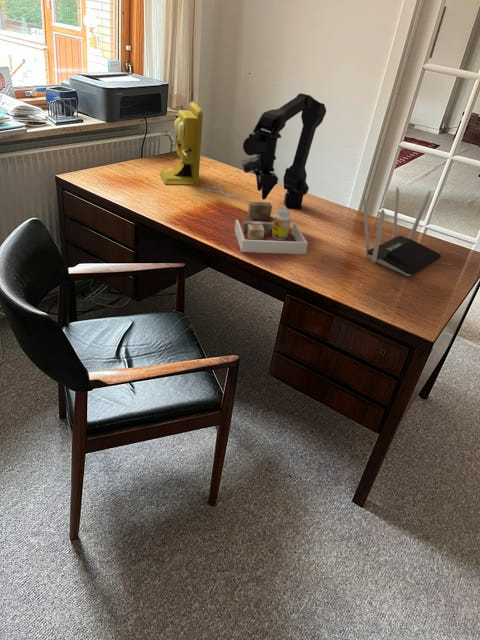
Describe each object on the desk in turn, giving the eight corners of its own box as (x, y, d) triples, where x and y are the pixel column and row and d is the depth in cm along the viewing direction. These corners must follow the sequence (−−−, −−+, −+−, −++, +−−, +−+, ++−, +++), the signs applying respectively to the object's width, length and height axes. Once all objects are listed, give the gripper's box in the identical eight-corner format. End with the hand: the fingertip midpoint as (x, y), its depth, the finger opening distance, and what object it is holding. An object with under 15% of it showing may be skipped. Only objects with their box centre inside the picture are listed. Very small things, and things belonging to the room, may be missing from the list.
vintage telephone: (155, 166, 217) (156, 95, 201) (185, 167, 222) (189, 97, 205) (167, 190, 193) (169, 112, 176) (201, 190, 197) (206, 114, 181)
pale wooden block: (260, 233, 168) (261, 224, 166) (263, 239, 164) (264, 230, 162) (246, 233, 167) (247, 223, 165) (249, 239, 163) (250, 229, 161)
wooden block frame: (278, 217, 182) (280, 203, 179) (287, 234, 170) (290, 219, 167) (237, 215, 180) (238, 200, 176) (243, 232, 167) (245, 217, 164)
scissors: (213, 183, 206) (249, 196, 196) (212, 185, 206) (249, 198, 197) (196, 188, 199) (232, 202, 189) (196, 190, 199) (232, 204, 190)
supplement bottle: (268, 234, 168) (273, 206, 162) (283, 233, 170) (287, 206, 164) (275, 241, 164) (279, 213, 158) (289, 240, 166) (294, 212, 160)
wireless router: (401, 285, 147) (422, 224, 136) (340, 256, 160) (354, 199, 148) (446, 257, 169) (467, 203, 158) (389, 233, 181) (405, 182, 170)
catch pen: (293, 232, 172) (295, 222, 169) (305, 254, 158) (307, 243, 156) (234, 230, 168) (235, 219, 165) (241, 251, 154) (242, 240, 152)
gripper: (240, 142, 172) (236, 185, 181) (248, 157, 157) (243, 203, 166) (270, 145, 174) (264, 186, 183) (281, 160, 159) (274, 204, 168)
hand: (261, 195), depth 175 cm, fingers open, 9 cm apart
